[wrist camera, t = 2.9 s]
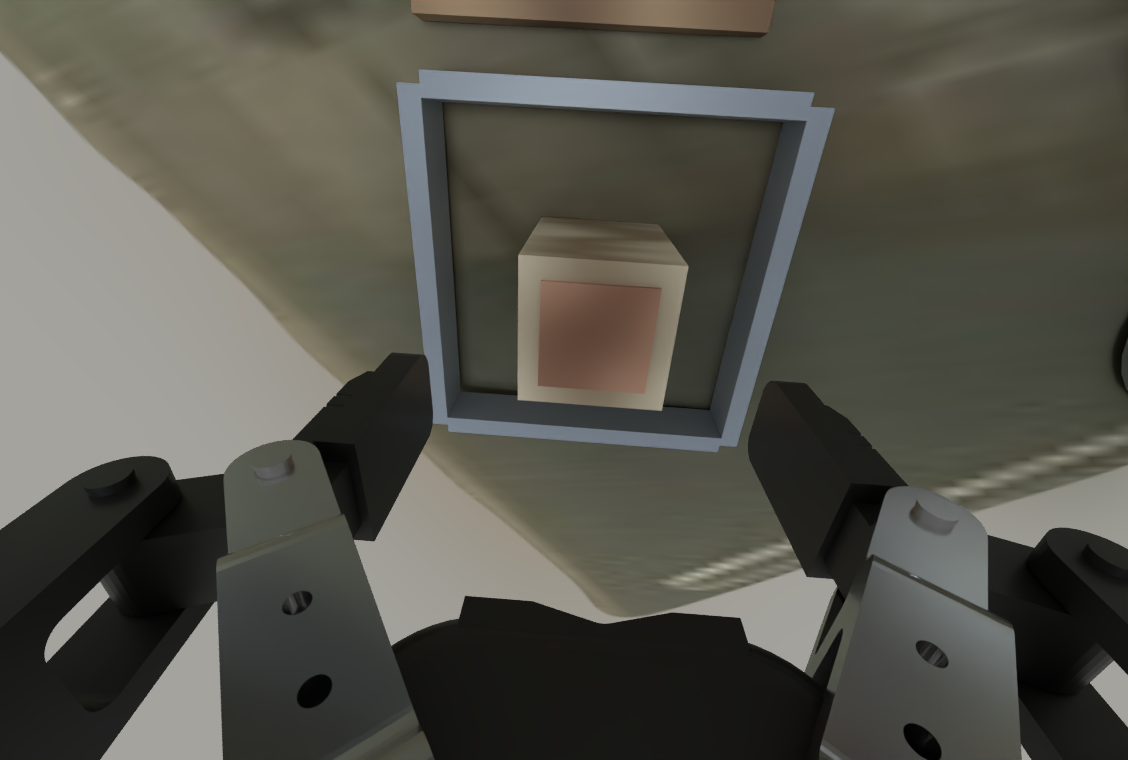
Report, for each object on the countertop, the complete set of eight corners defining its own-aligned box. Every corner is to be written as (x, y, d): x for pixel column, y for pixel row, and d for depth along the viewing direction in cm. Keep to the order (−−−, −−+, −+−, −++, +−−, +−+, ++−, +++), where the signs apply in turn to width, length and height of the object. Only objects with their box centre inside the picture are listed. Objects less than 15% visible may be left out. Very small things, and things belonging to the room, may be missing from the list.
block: (658, 224, 19) (689, 267, 13) (642, 332, 22) (662, 413, 16) (542, 216, 20) (517, 255, 13) (538, 325, 22) (516, 402, 16)
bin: (807, 99, 17) (839, 93, 15) (721, 424, 24) (734, 453, 22) (419, 76, 17) (394, 68, 15) (446, 403, 24) (432, 430, 22)
